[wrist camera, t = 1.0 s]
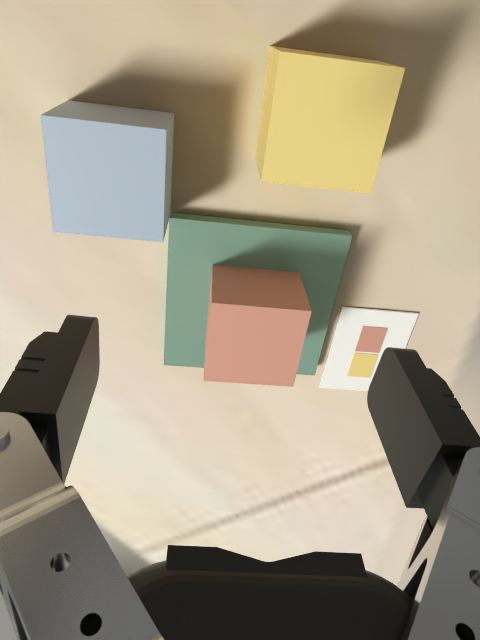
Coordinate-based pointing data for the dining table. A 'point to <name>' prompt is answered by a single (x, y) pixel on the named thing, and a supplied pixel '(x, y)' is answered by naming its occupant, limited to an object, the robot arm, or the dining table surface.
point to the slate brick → (109, 170)
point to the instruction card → (363, 345)
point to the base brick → (255, 326)
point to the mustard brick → (325, 119)
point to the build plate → (250, 252)
